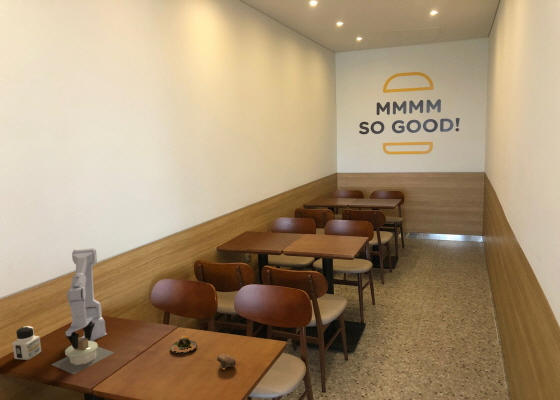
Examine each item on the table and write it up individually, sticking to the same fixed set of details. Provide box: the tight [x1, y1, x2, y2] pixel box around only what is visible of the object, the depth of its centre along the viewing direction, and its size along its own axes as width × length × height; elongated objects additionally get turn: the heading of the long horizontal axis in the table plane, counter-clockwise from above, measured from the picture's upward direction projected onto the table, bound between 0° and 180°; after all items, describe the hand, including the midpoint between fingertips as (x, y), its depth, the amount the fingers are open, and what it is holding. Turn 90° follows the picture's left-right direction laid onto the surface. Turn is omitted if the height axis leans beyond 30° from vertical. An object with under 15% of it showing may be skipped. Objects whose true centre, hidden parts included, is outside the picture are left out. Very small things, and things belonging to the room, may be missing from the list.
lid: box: [64, 337, 99, 358], centre depth 188 cm, size 13×13×5 cm
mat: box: [51, 346, 115, 375], centre depth 189 cm, size 20×16×1 cm
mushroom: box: [216, 353, 237, 370], centre depth 179 cm, size 8×8×6 cm
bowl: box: [70, 350, 97, 365], centre depth 189 cm, size 10×10×4 cm
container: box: [12, 325, 42, 361], centre depth 193 cm, size 8×8×13 cm
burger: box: [169, 331, 198, 354], centre depth 195 cm, size 12×12×8 cm
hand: (81, 344), depth 188 cm, fingers open, 7 cm apart
